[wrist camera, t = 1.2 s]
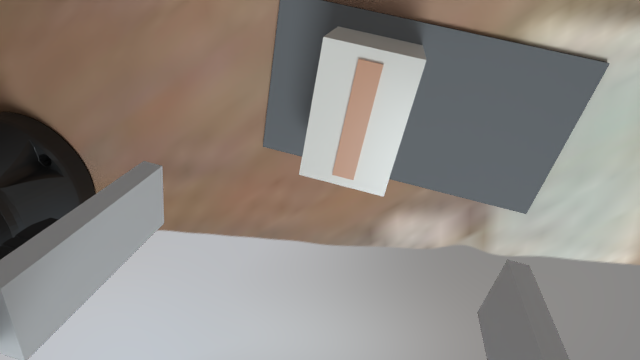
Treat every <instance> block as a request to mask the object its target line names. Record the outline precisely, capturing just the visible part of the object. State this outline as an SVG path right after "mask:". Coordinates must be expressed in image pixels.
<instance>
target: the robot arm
mask: <svg viewBox="0 0 640 360" xmlns="http://www.w3.org/2000/svg"><path fill="white" fill-rule="evenodd" d="M163 224H164V206H163V173H162V166H160V165H157V164H153V163H149V162H146V161H143V162H142V163H140V164H139V165H137V166H136V167H134V168H133V169H132V170H130V171H129V172H127V173H126V174H124V175H123V176H121V177H120V178H118V179H117V180H116V181H114V182H113V183H111V184H110V185H108V186H107V187H105V188H104V189H102V190H101V191H100V192H98V193H97V194H95V191H94V187H93V183H92V180H91V178H90V175H89V173H88V171H87V169H86V167H85V166H84V164H83V162H82V161H81V159H80V158H79V157H78V155H77V154H76V153H75V151H74V150H73V149H72V148H71V147H70V146H69V145H68V144H67V143H66V142H65V141H64V140H63V139H62V138H61V137H60V136H59V135H58V134H56V133H55V132H54V131H52V130H51V129H50V128H48V127H47V126H45V125H43V124H42V123H40V122H38V121H36V120H34V119H32V118H29V117H27V116H24V115H21V114H16V113H11V112H0V354H3V355H6V356H9V357H12V358H15V359H18V360H28V359H29V358H30V357H31V356H32V355H33V354H34V353H35V352H36V351H37V350H38V349H39V348H40V346H42V345H43V344H44V343H45V342H46V341H47V340H48V339H49V338H50V337H51V336H52V335H53V334H54V333H55V332H56V331H57V330H58V329H59V328H60V327H61V326H62V325H63V324H64V323H65V322H66V321H67V320H68V319H69V318H70V317H71V316H72V315H73V314H74V313H75V312H76V311H77V310H78V309H79V308H80V307H81V306H82V305H83V304H84V303H85V302H86V301H87V300H88V299H89V298H90V297H91V296H92V295H93V294H94V293H95V292H96V291H97V290H98V289H99V288H100V287H101V286H102V285H103V284H104V283H105V282H106V281H107V280H108V279H109V278H110V277H111V276H112V275H113V274H114V273H115V272H116V271H117V270H118V269H119V268H120V267H121V266H122V265H123V264H124V263H125V262H126V261H127V260H128V259H129V258H130V257H131V256H132V255H133V254H134V253H135V252H136V251H137V250H138V249H139V248H140V247H141V246H142V245H143V244H144V243H145V242H146V241H147V240H148V239H149V238H150V237H151V236H152V235H153V234H154V233H155V232H156V231H157V230H158V229H159V228H160V227H161V226H162V225H163ZM478 318H479V322H480V328H481V332H482V337H483V341H484V347H485V351H486V356H487V360H570V359H569V357H568V355H567V353H566V350H565V348H564V345H563V343H562V341H561V338H560V336H559V334H558V331H557V329H556V327H555V324H554V322H553V319H552V317H551V315H550V313H549V310H548V308H547V305H546V303H545V301H544V298H543V296H542V294H541V291H540V289H539V287H538V284H537V282H536V280H535V277H534V275H533V273H532V270H531V268H530V266H529V265H526V264H522V263H518V262H515V261H511V260H507V261H506V263H505V265H504V266H503V268H502V270H501V272H500V273H499V276H498V277H497V279H496V281H495V282H494V284H493V286H492V288H491V289H490V291H489V293H488V295H487V297H486V298H485V300H484V302H483V304H482V305H481V307H480V309H479V311H478Z"/></svg>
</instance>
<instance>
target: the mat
mask: <svg viewBox="0 0 640 360" xmlns="http://www.w3.org/2000/svg"><path fill="white" fill-rule="evenodd" d="M338 26H339V27H343V28H348V29H352V30H357V31H361V32H366V33H370V34H375V35H379V36H383V37H388V38H392V39H397V40H401V41H406V42H410V43H415V44H419V45H423V49H424V52H425V56H426V63H425V67H424V70H423V73H422V76H421V79H420V82H419V86H418V89H417V92H416V95H415V98H414V101H413V105H412V108H411V111H410V114H409V117H408V120H407V124H406V127H405V130H404V133H403V136H402V140H401V143H400V146H399V149H398V152H397V155H396V159H395V162H394V165H393V168H392V171H391V174H390V178H389V179H392V180H396V181H399V182H403V183H407V184H411V185H415V186H419V187H423V188H427V189H431V190H435V191H439V192H442V193H446V194H450V195H454V196H458V197H462V198H466V199H470V200H474V201H478V202H481V203H485V204H489V205H493V206H497V207H501V208H505V209H509V210H513V211H517V212H521V213H524V214H526V213H527V212H528V210H529V208H530V206H531V204H532V203H533V201H534V199H535V197H536V195H537V194H538V192H539V190H540V188H541V186H542V185H543V183H544V181H545V179H546V177H547V176H548V174H549V172H550V170H551V168H552V167H553V165H554V163H555V161H556V159H557V158H558V156H559V154H560V152H561V150H562V149H563V147H564V145H565V143H566V141H567V140H568V138H569V136H570V134H571V132H572V130H573V129H574V127H575V125H576V123H577V121H578V120H579V118H580V116H581V114H582V112H583V111H584V109H585V107H586V105H587V103H588V102H589V100H590V98H591V96H592V94H593V93H594V91H595V89H596V87H597V85H598V84H599V82H600V80H601V78H602V76H603V75H604V73H605V71H606V69H607V67H608V66H609V63H607V62H602V61H598V60H593V59H589V58H584V57H580V56H575V55H570V54H566V53H561V52H557V51H552V50H548V49H543V48H538V47H534V46H529V45H525V44H520V43H516V42H511V41H506V40H502V39H497V38H493V37H488V36H484V35H479V34H474V33H470V32H465V31H461V30H456V29H452V28H447V27H442V26H438V25H433V24H429V23H424V22H420V21H415V20H410V19H406V18H401V17H397V16H392V15H388V14H383V13H378V12H374V11H369V10H365V9H360V8H356V7H351V6H346V5H342V4H337V3H333V2H328V1H324V0H280V5H279V14H278V22H277V31H276V39H275V48H274V57H273V65H272V74H271V82H270V91H269V99H268V108H267V116H266V125H265V134H264V142H263V147H267V148H271V149H275V150H278V151H282V152H286V153H290V154H294V155H298V156H302V155H303V150H304V144H305V138H306V133H307V127H308V121H309V116H310V110H311V104H312V99H313V93H314V87H315V82H316V76H317V70H318V65H319V59H320V53H321V48H322V42H323V37H324V36H325V35H327V34H328V33H329V32H331V31H332V30H334V29H335V28H337V27H338Z"/></svg>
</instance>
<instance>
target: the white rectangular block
mask: <svg viewBox="0 0 640 360" xmlns="http://www.w3.org/2000/svg"><path fill="white" fill-rule="evenodd" d="M425 63H426V56H425V52H424V49H423V45H419V44H415V43H410V42H406V41H401V40H397V39H392V38H388V37H383V36H379V35H375V34H370V33H366V32H361V31H357V30H352V29H348V28H343V27H339V26H338V27H337V28H335V29H334V30H332V31H331V32H329V33H328V34H327V35H325V36H324V37H323V42H322V48H321V53H320V59H319V65H318V70H317V76H316V82H315V87H314V93H313V99H312V104H311V110H310V116H309V121H308V127H307V133H306V138H305V144H304V150H303V155H302V161H301V167H300V172H299V175H303V176H306V177H310V178H314V179H318V180H322V181H326V182H329V183H333V184H337V185H341V186H345V187H349V188H353V189H356V190H360V191H364V192H368V193H372V194H376V195H379V196H383V197H384V193H385V190H386V187H387V184H388V181H389V178H390V174H391V171H392V168H393V165H394V162H395V159H396V155H397V152H398V149H399V146H400V143H401V140H402V136H403V133H404V130H405V127H406V124H407V120H408V117H409V114H410V111H411V108H412V105H413V101H414V98H415V95H416V92H417V89H418V86H419V82H420V79H421V76H422V73H423V70H424V67H425Z"/></svg>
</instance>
